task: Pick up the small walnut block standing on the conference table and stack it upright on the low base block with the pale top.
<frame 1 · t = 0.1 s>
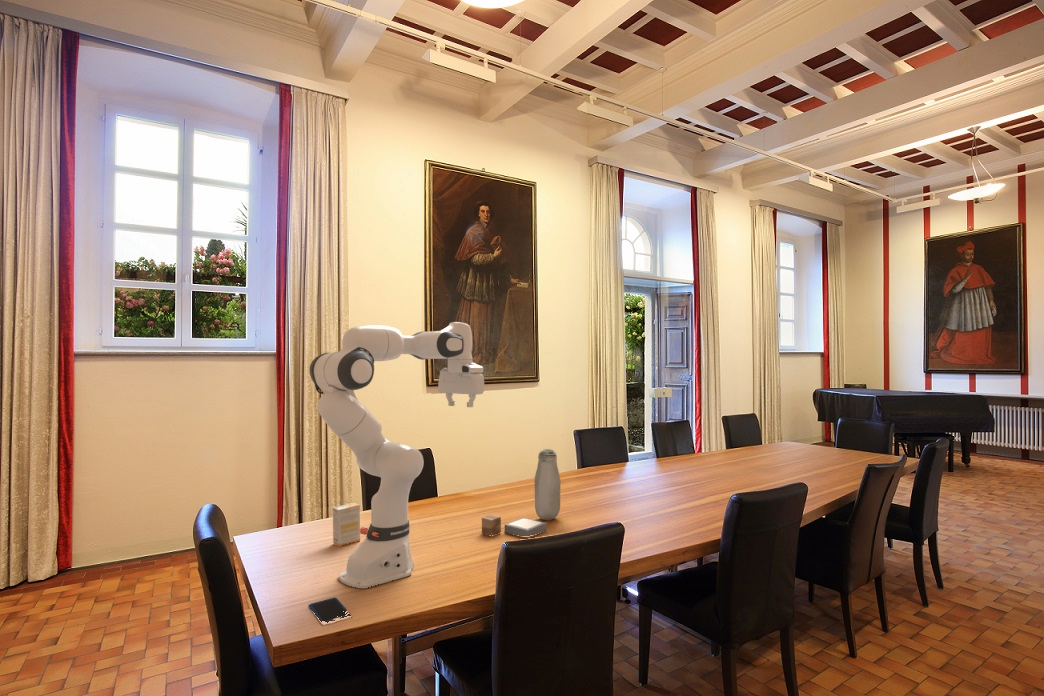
hand: (460, 406, 190), 48 cm above the table, tool pointing down, fingers open, 8 cm apart
walnut block: (491, 533, 198), on the table
cell phone: (329, 613, 138), on the table
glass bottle: (547, 519, 215), on the table
supplement box: (346, 543, 190), on the table
base block: (525, 531, 200), on the table
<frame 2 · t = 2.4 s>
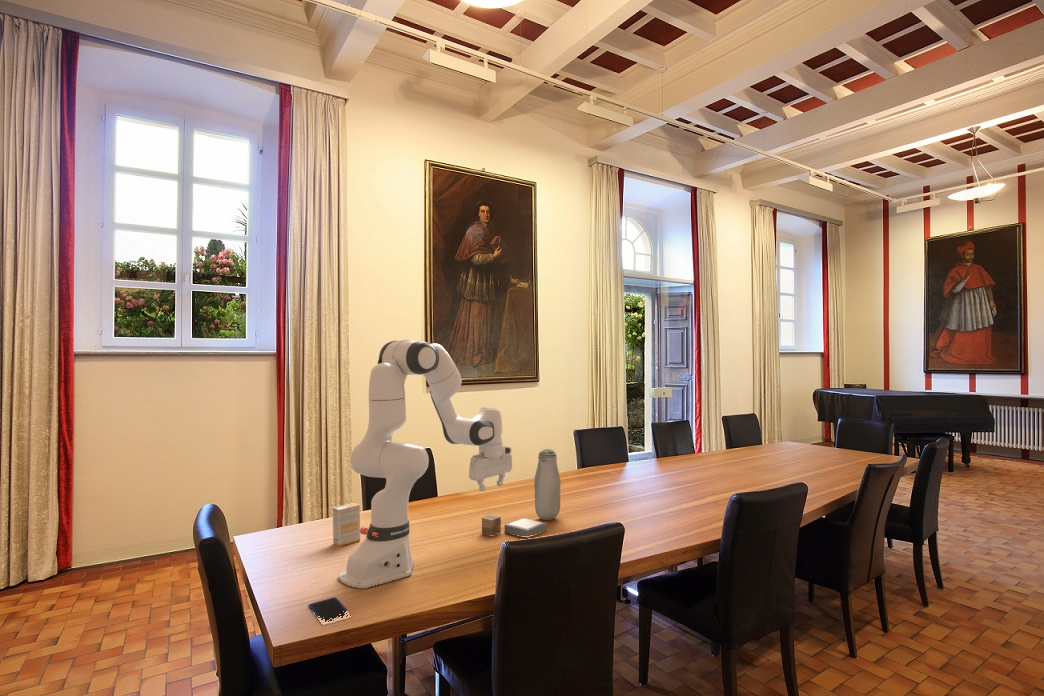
hand: (491, 488, 199), 17 cm above the table, tool pointing down, fingers open, 8 cm apart
nothing on the table moved.
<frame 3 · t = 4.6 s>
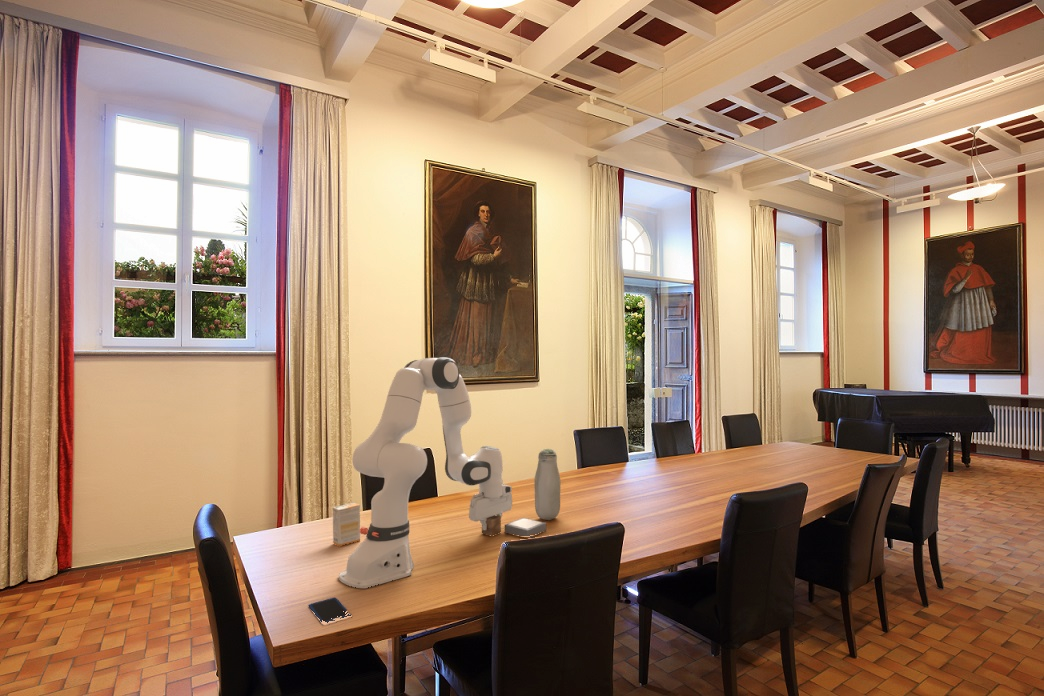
hand: (491, 527, 198), 2 cm above the table, tool pointing down, fingers closed on walnut block, 5 cm apart
walnut block: (491, 533, 198), on the table, touching gripper
everything else where it was.
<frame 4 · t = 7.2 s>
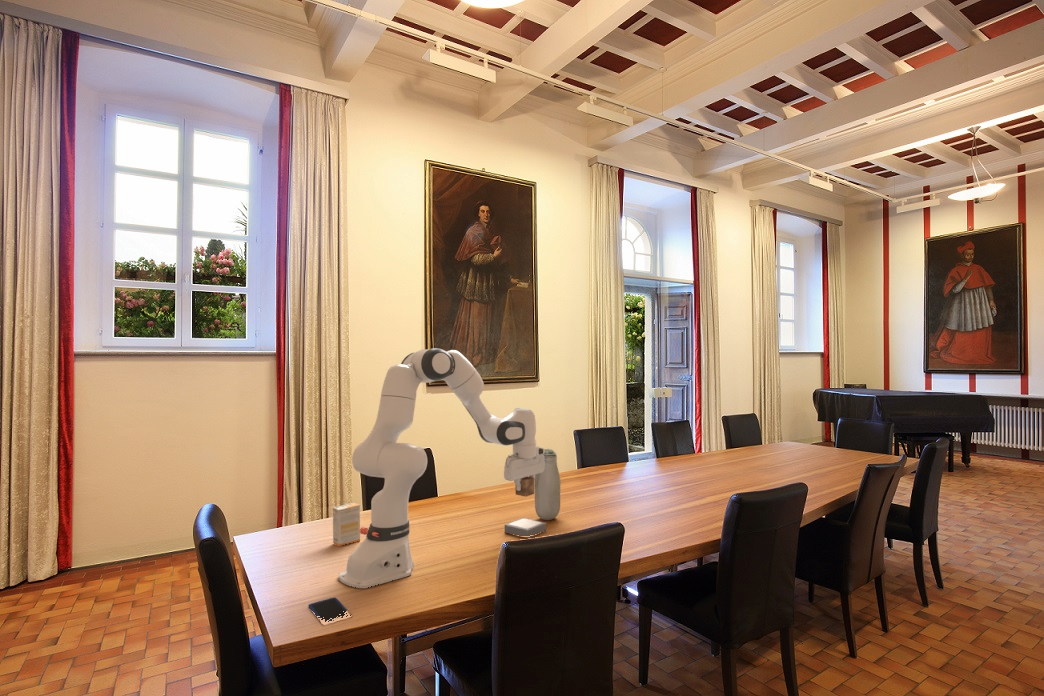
hand: (524, 488, 200), 16 cm above the table, tool pointing down, fingers closed on walnut block, 5 cm apart
walnut block: (524, 494, 200), point 14 cm above the table, touching gripper
everything else where it was.
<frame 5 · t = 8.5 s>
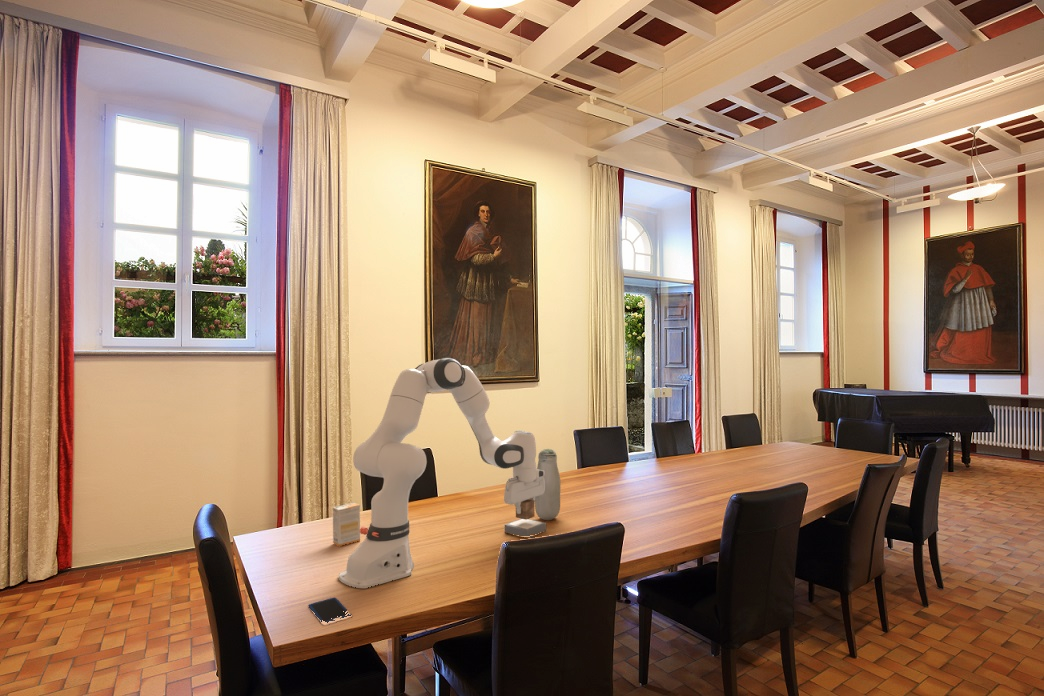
hand: (525, 511, 200), 8 cm above the table, tool pointing down, fingers closed on walnut block, 5 cm apart
walnut block: (525, 516, 200), point 6 cm above the table, touching gripper
everything else where it was.
when the fingers open (6 cm above the table, at t = 9.7 s): walnut block stays where it is, resting on base block.
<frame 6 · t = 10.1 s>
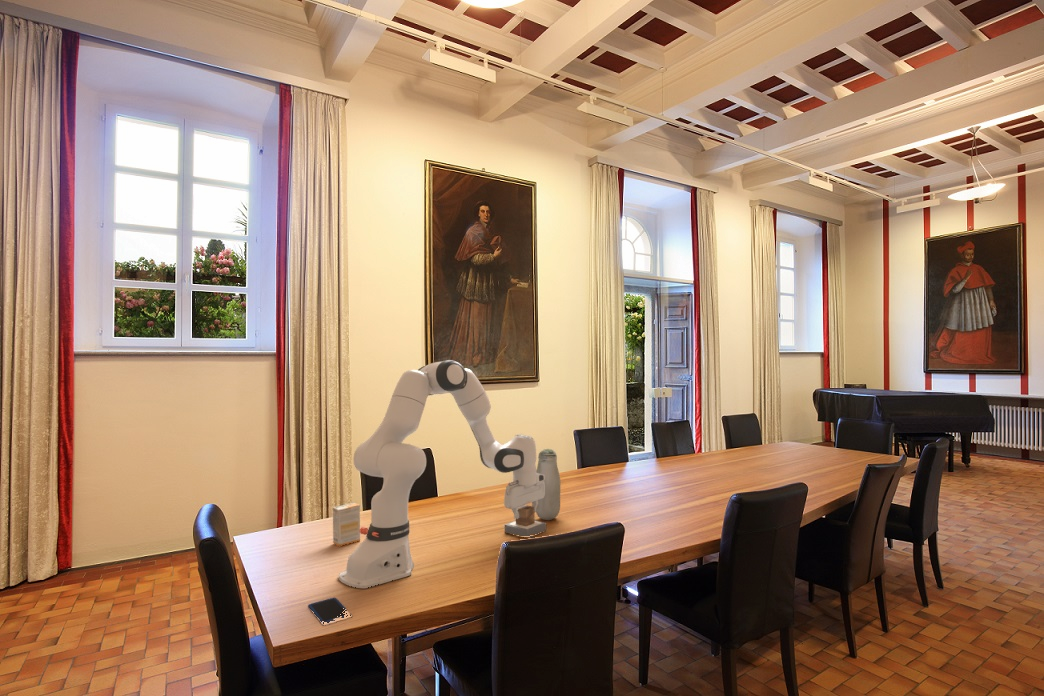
hand: (525, 515, 200), 6 cm above the table, tool pointing down, fingers open, 8 cm apart
walnut block: (525, 523, 200), point 3 cm above the table, touching base block
everything else where it was.
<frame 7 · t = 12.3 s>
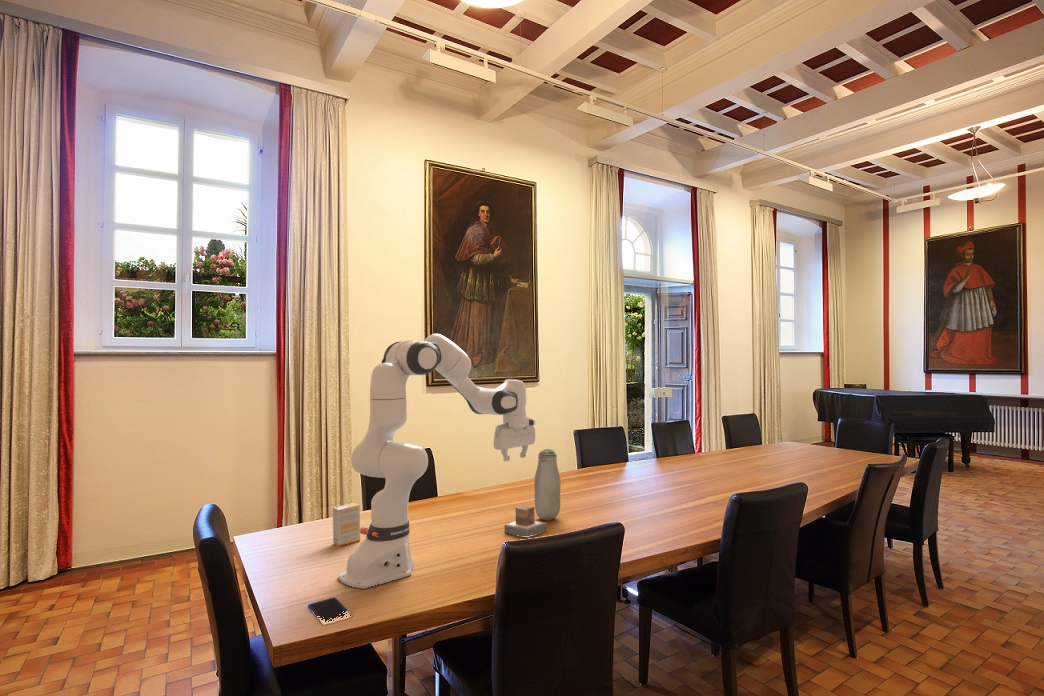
hand: (514, 459, 201), 27 cm above the table, tool pointing down, fingers open, 8 cm apart
nothing on the table moved.
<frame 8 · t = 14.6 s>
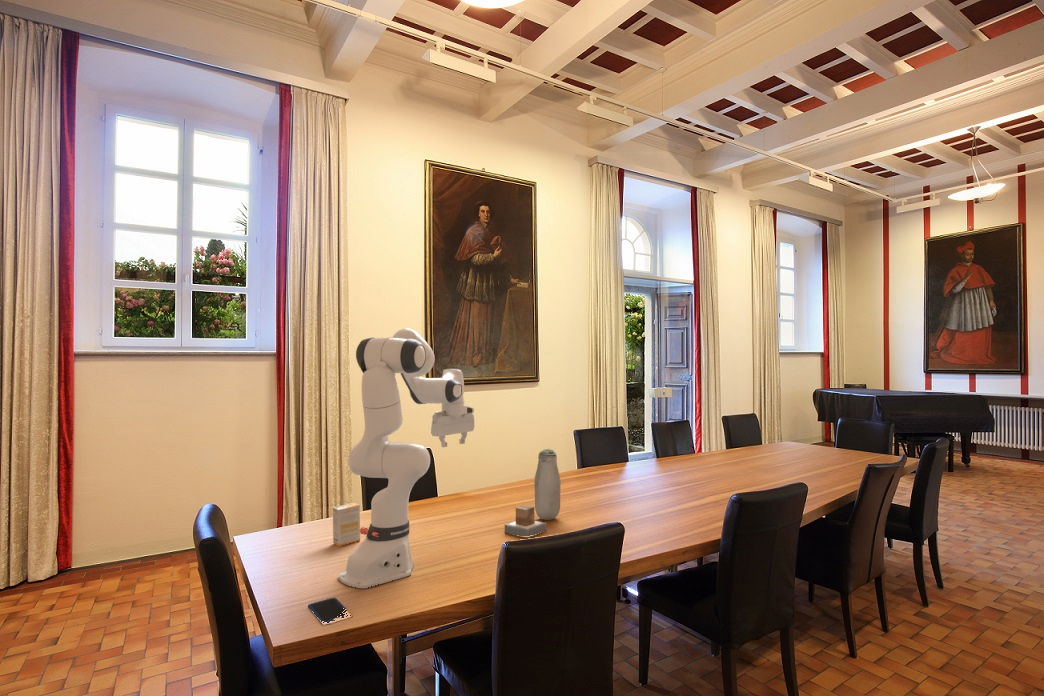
hand: (453, 445, 209), 31 cm above the table, tool pointing down, fingers open, 8 cm apart
nothing on the table moved.
at the end: walnut block inside the target area on the base block (0.1 cm from its centre), point 3.1 cm above the base block's base; walnut block tilted 0°; the gripper is holding nothing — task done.
